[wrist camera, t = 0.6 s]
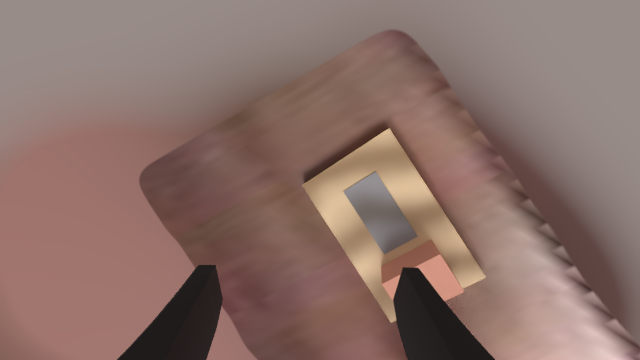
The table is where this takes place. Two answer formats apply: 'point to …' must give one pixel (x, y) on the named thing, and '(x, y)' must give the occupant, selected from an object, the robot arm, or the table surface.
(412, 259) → the block
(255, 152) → the table surface
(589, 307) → the table surface
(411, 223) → the board
